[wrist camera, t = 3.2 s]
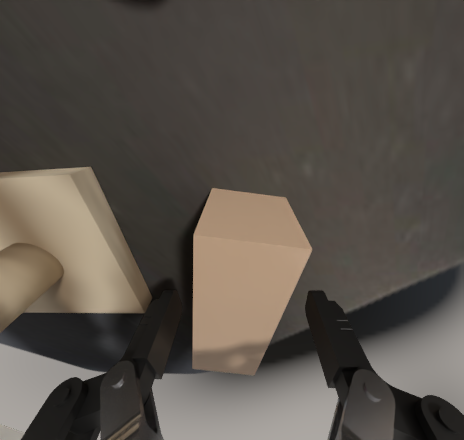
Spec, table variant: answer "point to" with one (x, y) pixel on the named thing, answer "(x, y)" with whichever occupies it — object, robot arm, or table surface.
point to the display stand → (62, 250)
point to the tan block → (242, 277)
